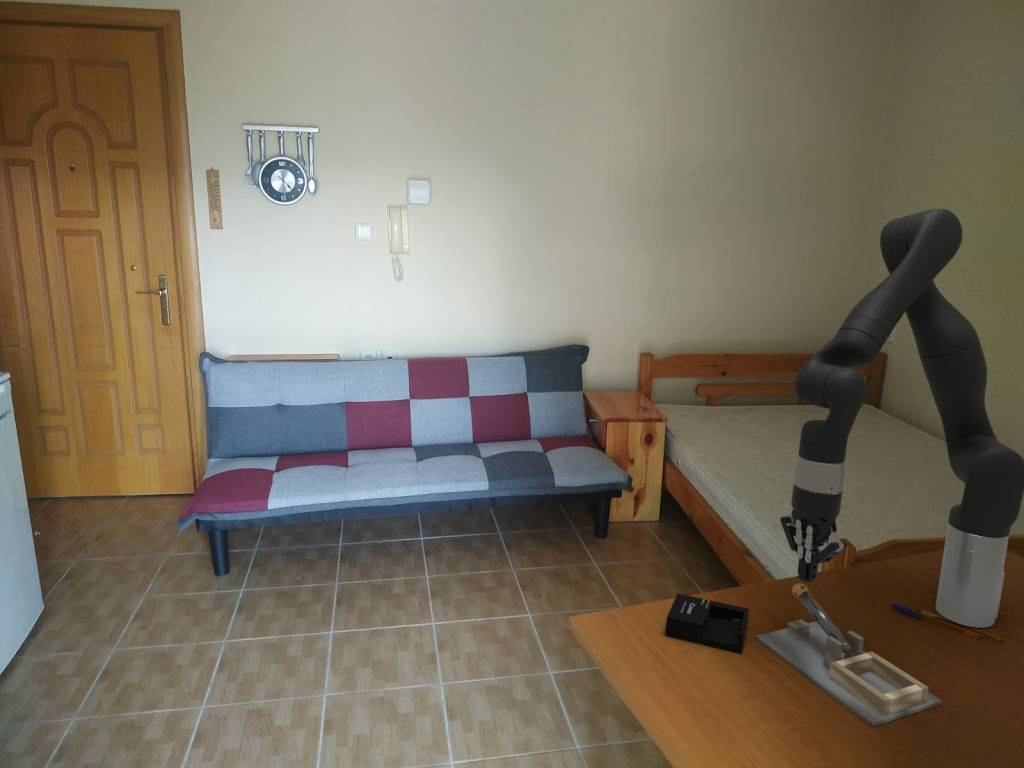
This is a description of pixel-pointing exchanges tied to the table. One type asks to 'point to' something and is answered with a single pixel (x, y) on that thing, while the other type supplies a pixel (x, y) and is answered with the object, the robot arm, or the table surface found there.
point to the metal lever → (820, 615)
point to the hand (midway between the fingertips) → (806, 580)
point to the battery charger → (707, 623)
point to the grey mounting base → (850, 673)
